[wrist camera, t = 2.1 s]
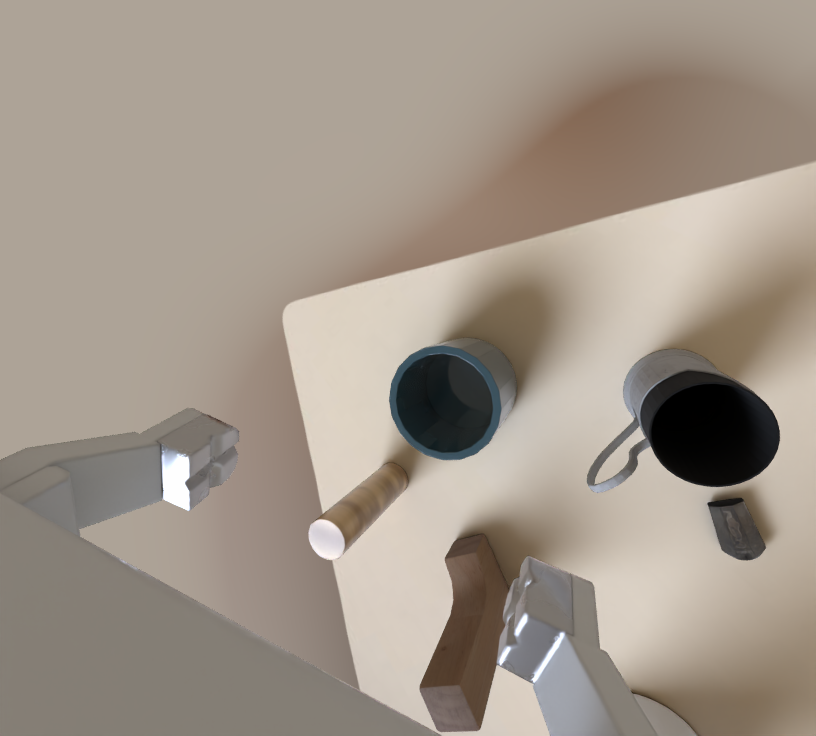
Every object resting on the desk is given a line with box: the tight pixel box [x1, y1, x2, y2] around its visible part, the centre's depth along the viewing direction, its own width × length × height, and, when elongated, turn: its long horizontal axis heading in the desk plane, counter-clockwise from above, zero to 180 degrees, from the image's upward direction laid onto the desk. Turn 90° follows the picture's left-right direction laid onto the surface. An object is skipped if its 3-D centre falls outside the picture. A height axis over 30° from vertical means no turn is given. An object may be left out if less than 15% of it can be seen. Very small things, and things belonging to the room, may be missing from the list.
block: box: [708, 498, 766, 561], centre depth 41 cm, size 4×6×2 cm, turn 26°
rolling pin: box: [308, 463, 408, 560], centre depth 50 cm, size 4×4×16 cm
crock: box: [389, 338, 517, 460], centre depth 46 cm, size 12×12×10 cm
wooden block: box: [420, 534, 509, 732], centre depth 45 cm, size 9×4×18 cm, turn 26°
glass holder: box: [587, 349, 780, 493], centre depth 37 cm, size 9×14×15 cm, turn 131°
